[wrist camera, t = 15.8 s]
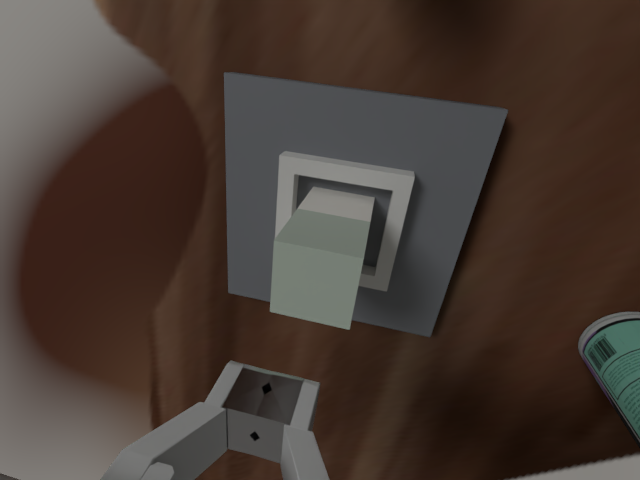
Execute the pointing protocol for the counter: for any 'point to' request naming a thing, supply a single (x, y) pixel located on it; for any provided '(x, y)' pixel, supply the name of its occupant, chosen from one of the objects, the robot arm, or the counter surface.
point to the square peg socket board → (356, 184)
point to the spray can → (616, 363)
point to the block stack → (321, 257)
